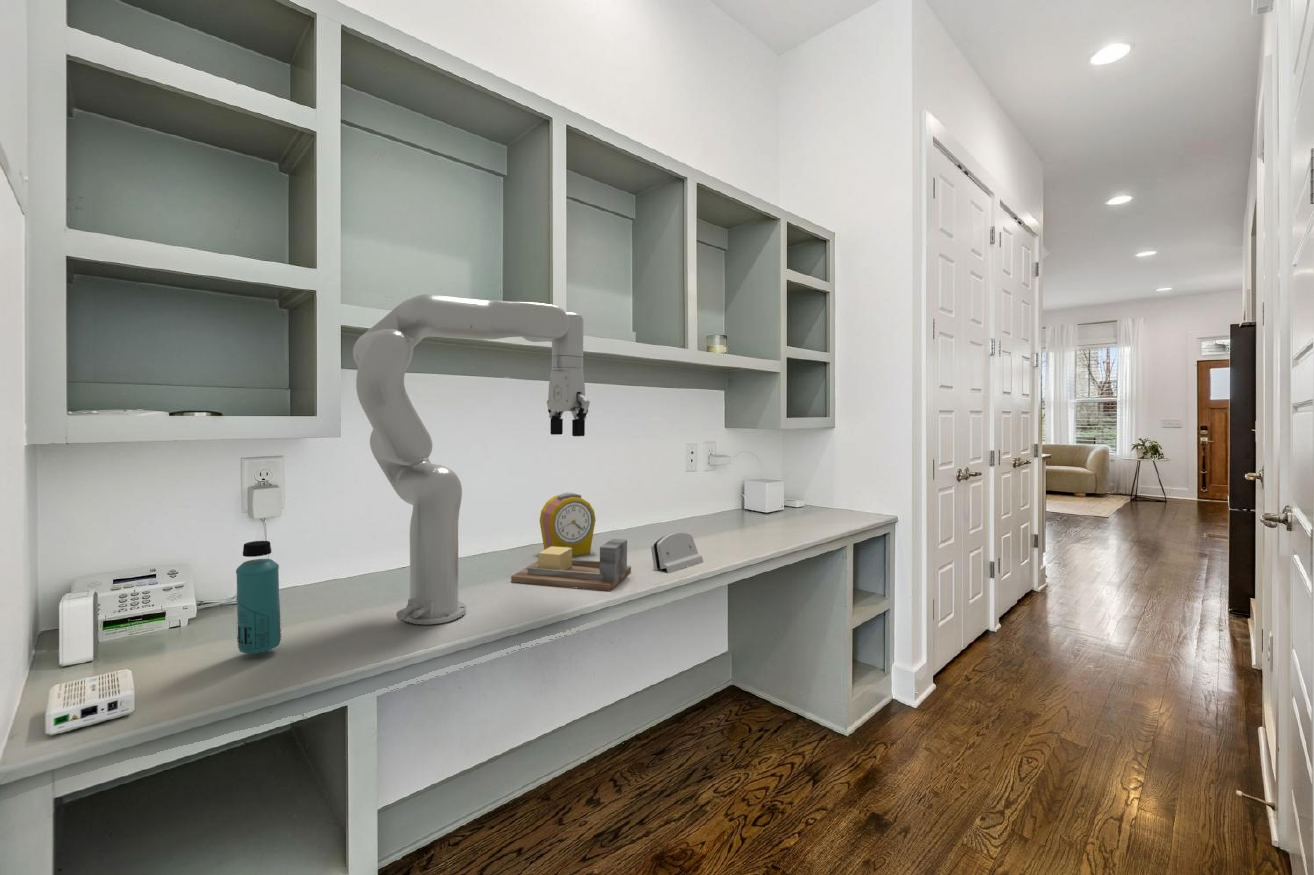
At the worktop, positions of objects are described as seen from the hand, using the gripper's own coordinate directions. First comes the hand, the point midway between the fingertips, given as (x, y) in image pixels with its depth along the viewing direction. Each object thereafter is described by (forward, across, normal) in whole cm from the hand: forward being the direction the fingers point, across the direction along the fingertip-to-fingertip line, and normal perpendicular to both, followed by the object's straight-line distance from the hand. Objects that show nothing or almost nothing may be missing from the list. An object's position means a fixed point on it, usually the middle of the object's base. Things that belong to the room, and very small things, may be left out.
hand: (567, 435), depth 146 cm
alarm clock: (+38, -28, +18) cm, 50 cm away
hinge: (+38, +2, +35) cm, 51 cm away
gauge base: (+37, -6, +6) cm, 38 cm away
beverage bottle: (+37, +1, -64) cm, 74 cm away
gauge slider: (+36, -11, +5) cm, 38 cm away
